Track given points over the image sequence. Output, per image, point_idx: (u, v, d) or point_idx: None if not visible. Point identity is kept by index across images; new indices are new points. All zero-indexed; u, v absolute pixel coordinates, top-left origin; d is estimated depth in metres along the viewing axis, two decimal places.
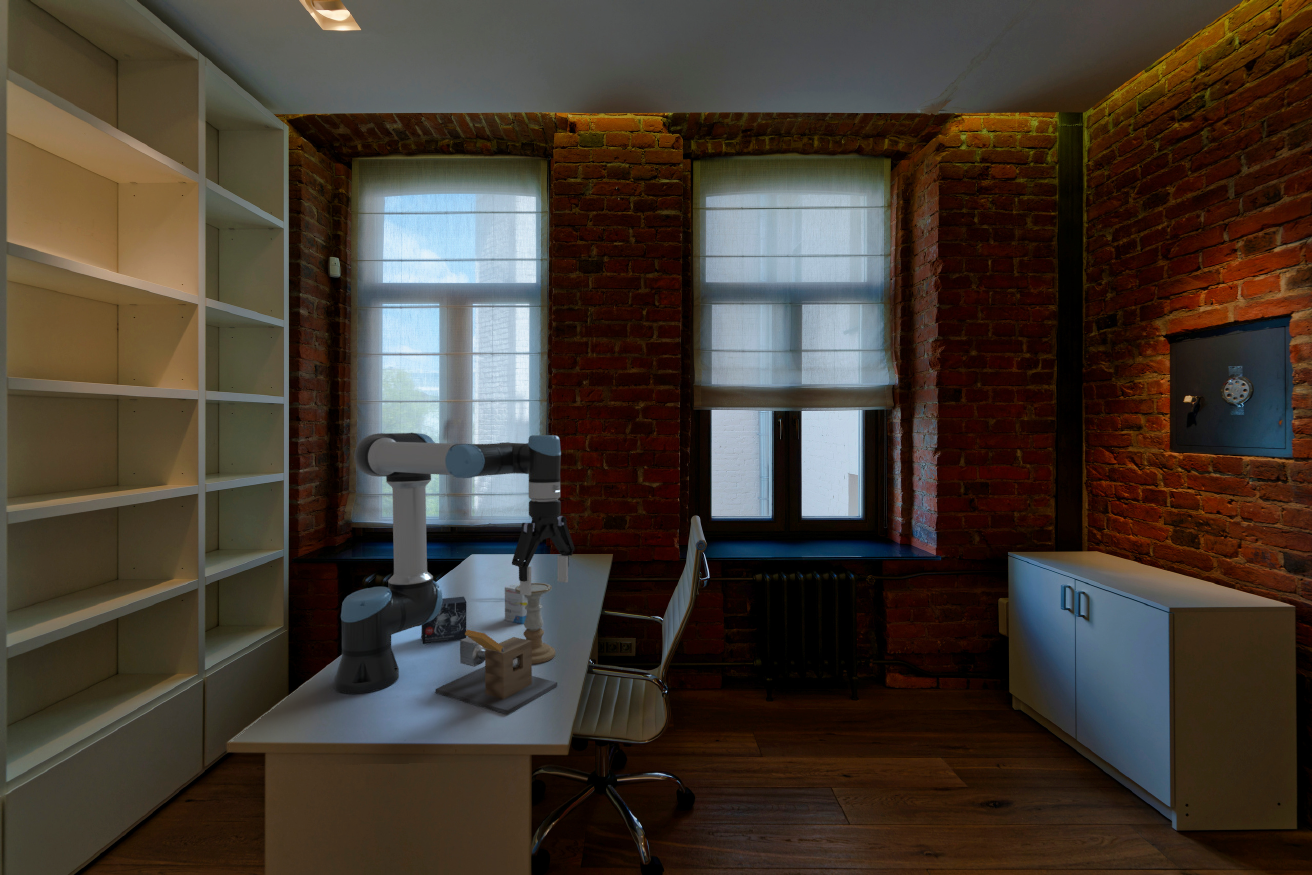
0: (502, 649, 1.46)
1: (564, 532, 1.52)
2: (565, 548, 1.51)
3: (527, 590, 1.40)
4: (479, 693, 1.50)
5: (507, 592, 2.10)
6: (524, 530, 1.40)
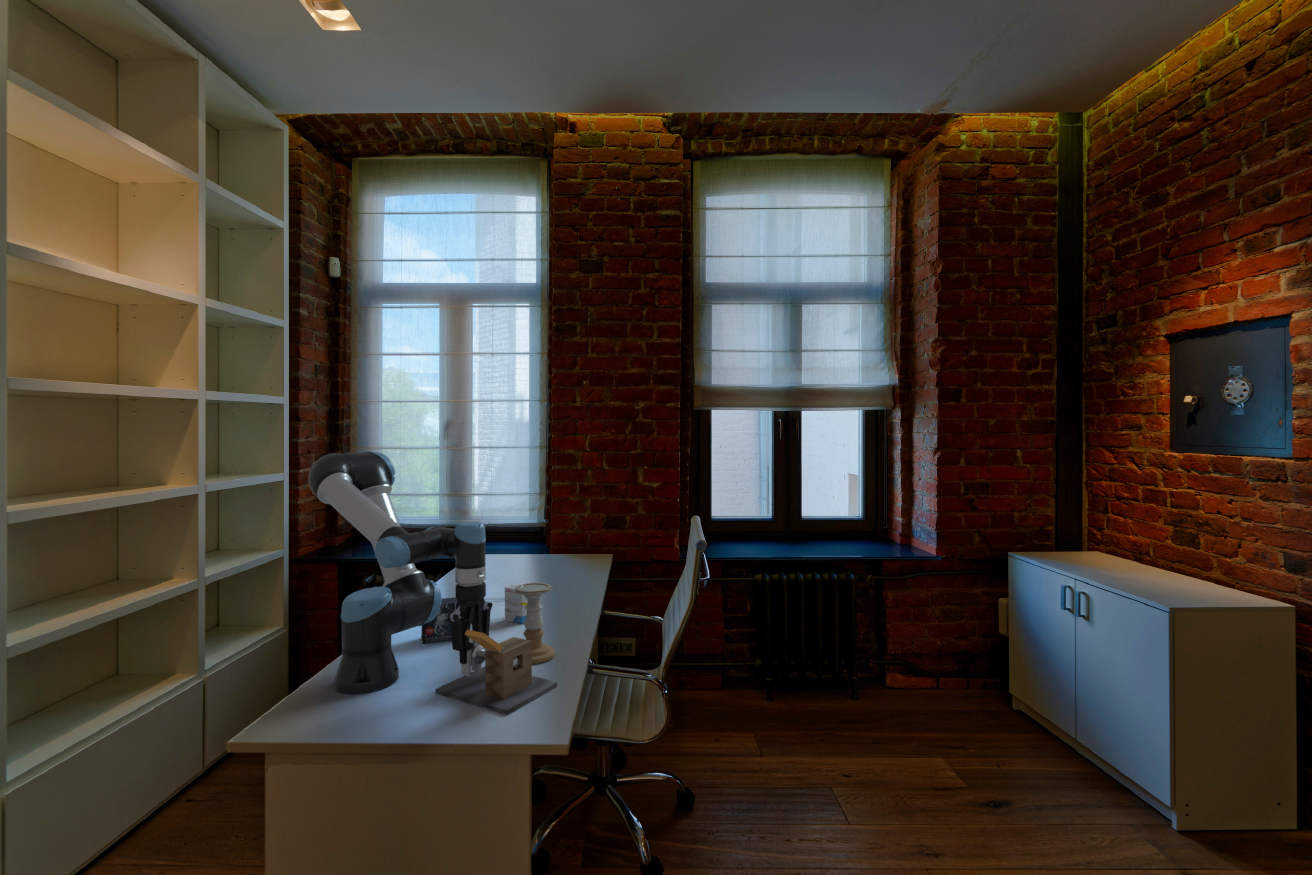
0: (502, 649, 1.46)
1: (485, 617, 1.62)
2: None
3: (467, 671, 1.56)
4: (479, 693, 1.50)
5: (507, 592, 2.10)
6: (452, 620, 1.53)
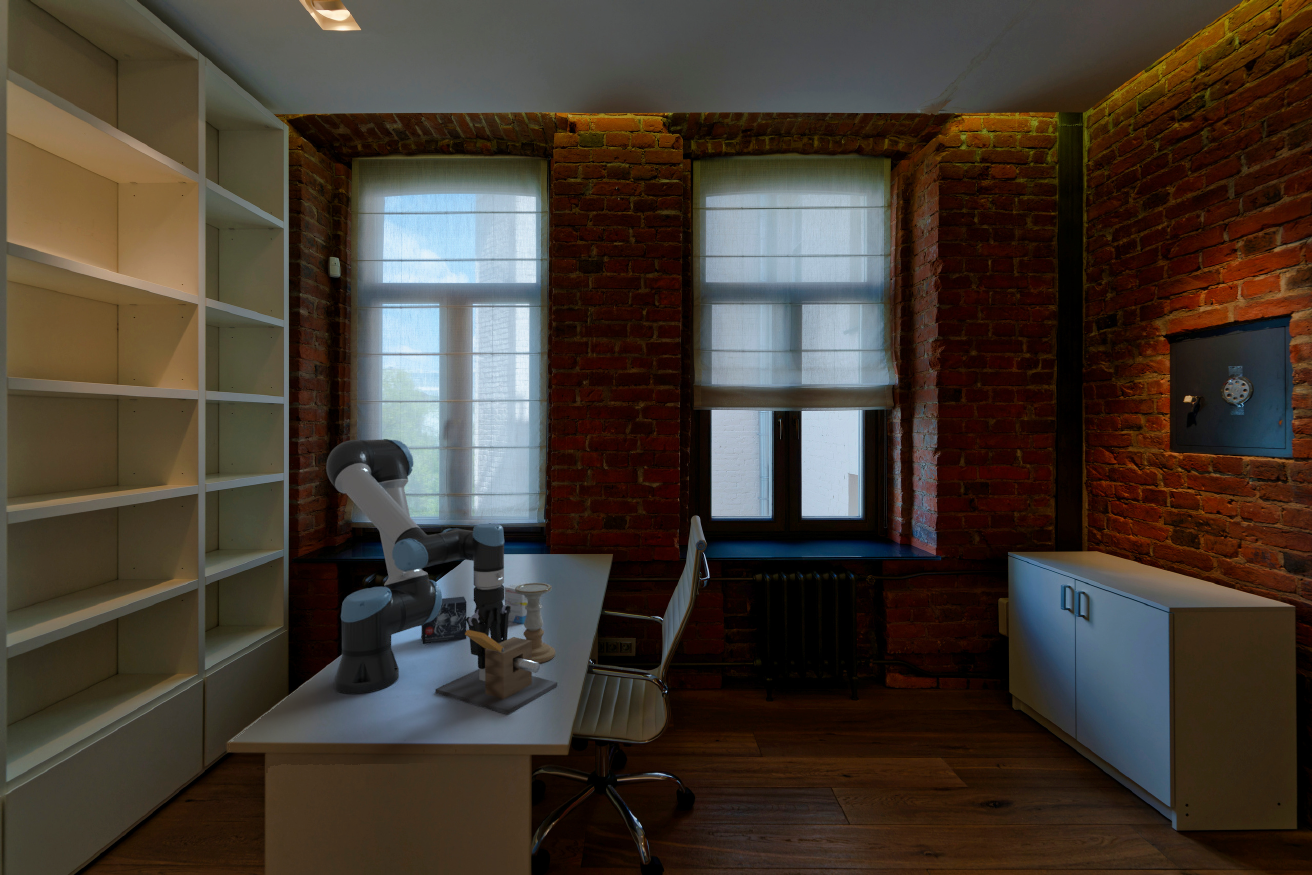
0: (502, 649, 1.46)
1: (503, 621, 1.59)
2: (499, 640, 1.57)
3: None
4: (479, 693, 1.50)
5: (507, 592, 2.10)
6: (470, 624, 1.50)
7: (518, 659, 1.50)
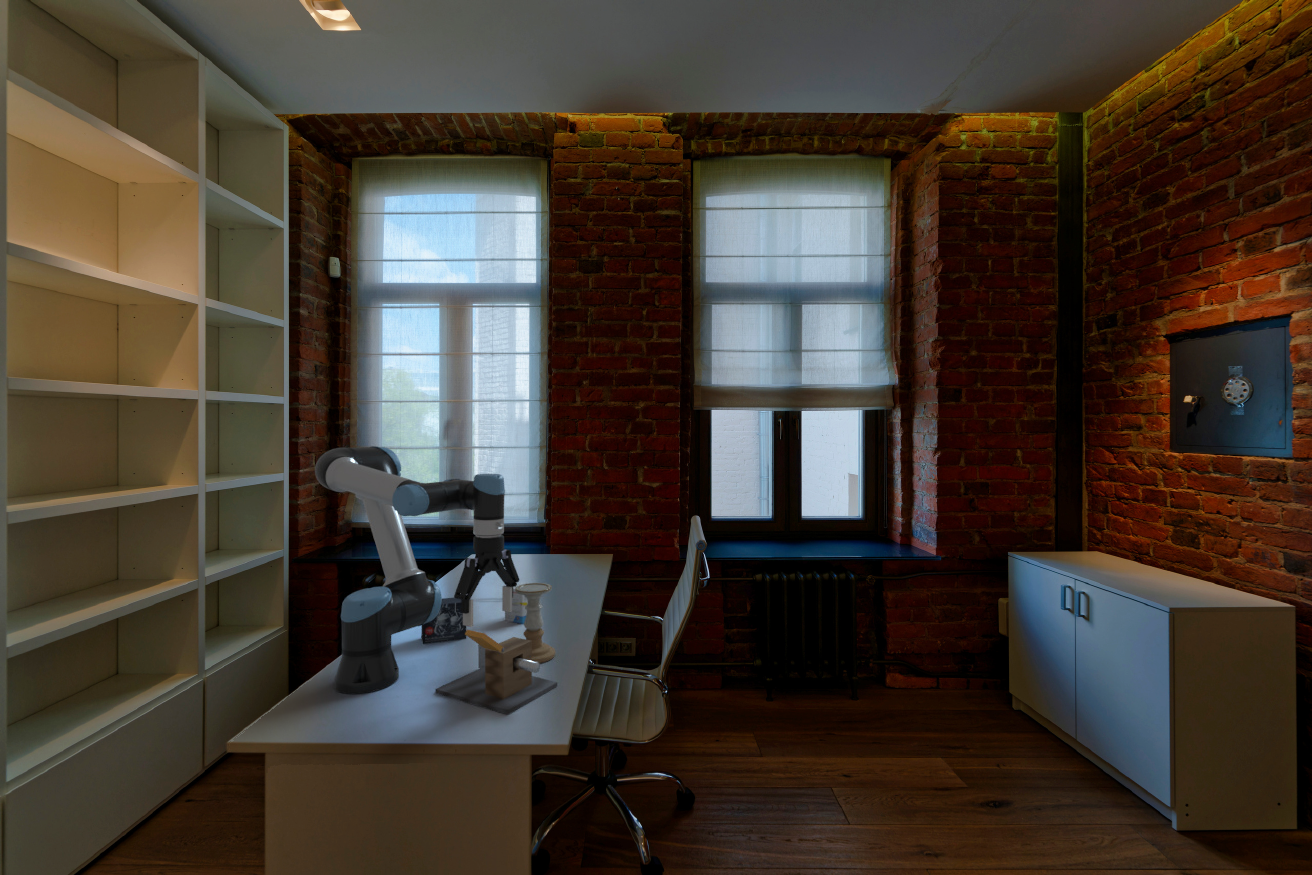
0: (502, 649, 1.46)
1: (509, 564, 1.61)
2: (509, 580, 1.60)
3: (469, 621, 1.49)
4: (479, 693, 1.50)
5: None
6: (467, 565, 1.49)
7: (518, 659, 1.50)
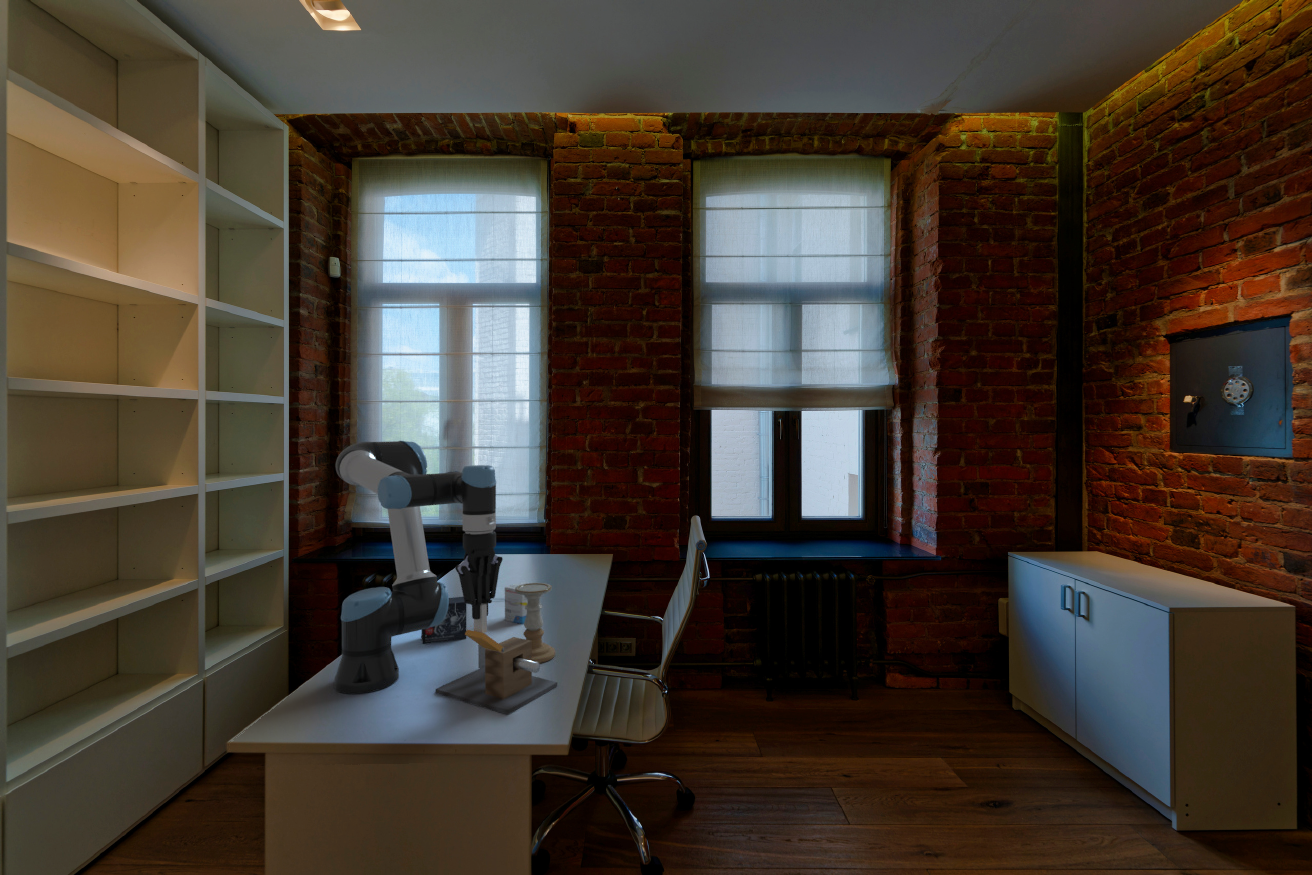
0: (502, 649, 1.46)
1: (493, 572, 1.46)
2: (487, 592, 1.44)
3: (480, 628, 1.43)
4: (479, 693, 1.50)
5: (507, 592, 2.10)
6: (460, 573, 1.39)
7: (518, 659, 1.50)
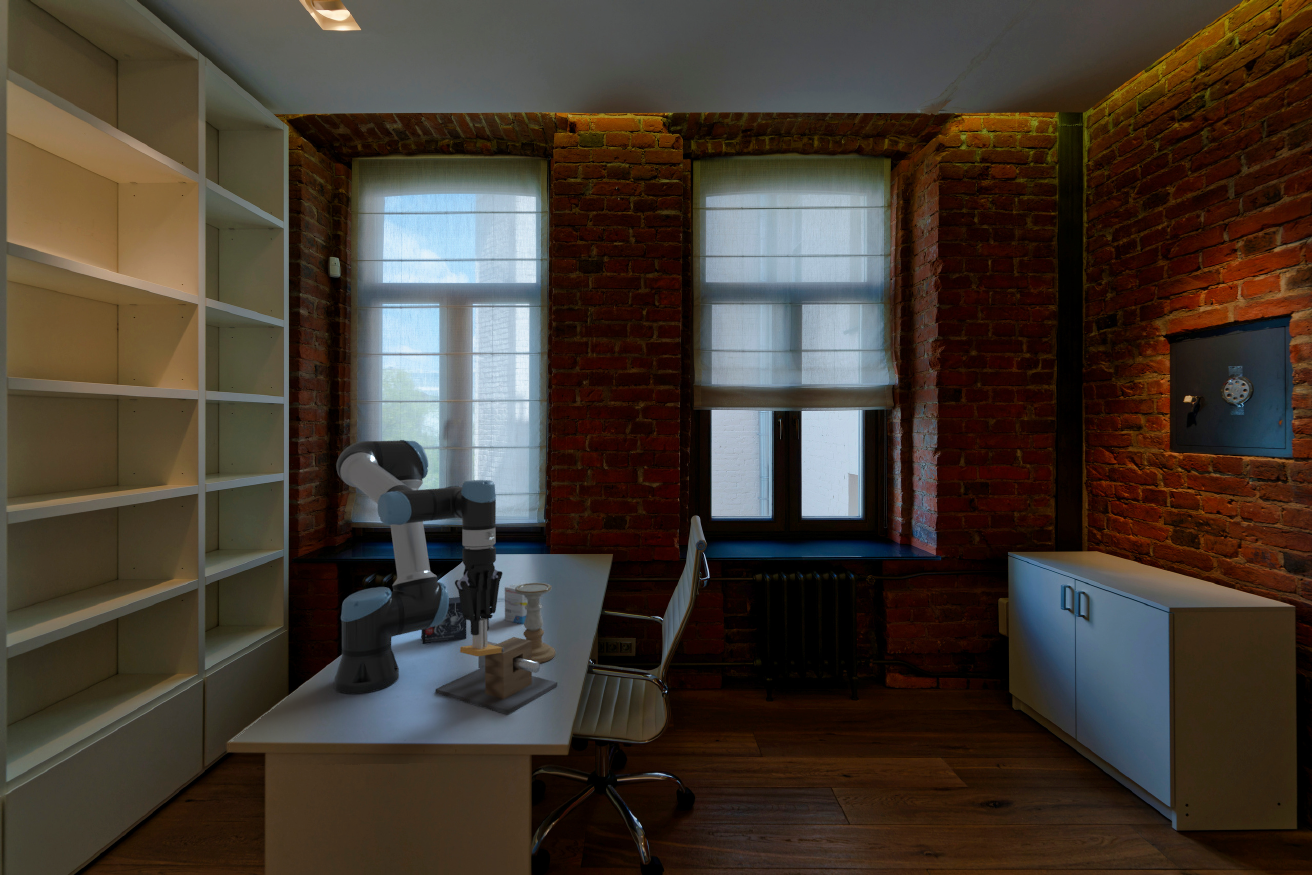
0: (502, 649, 1.46)
1: (494, 587, 1.46)
2: (487, 607, 1.44)
3: (479, 644, 1.42)
4: (479, 693, 1.50)
5: (507, 592, 2.10)
6: (460, 588, 1.38)
7: (518, 659, 1.50)
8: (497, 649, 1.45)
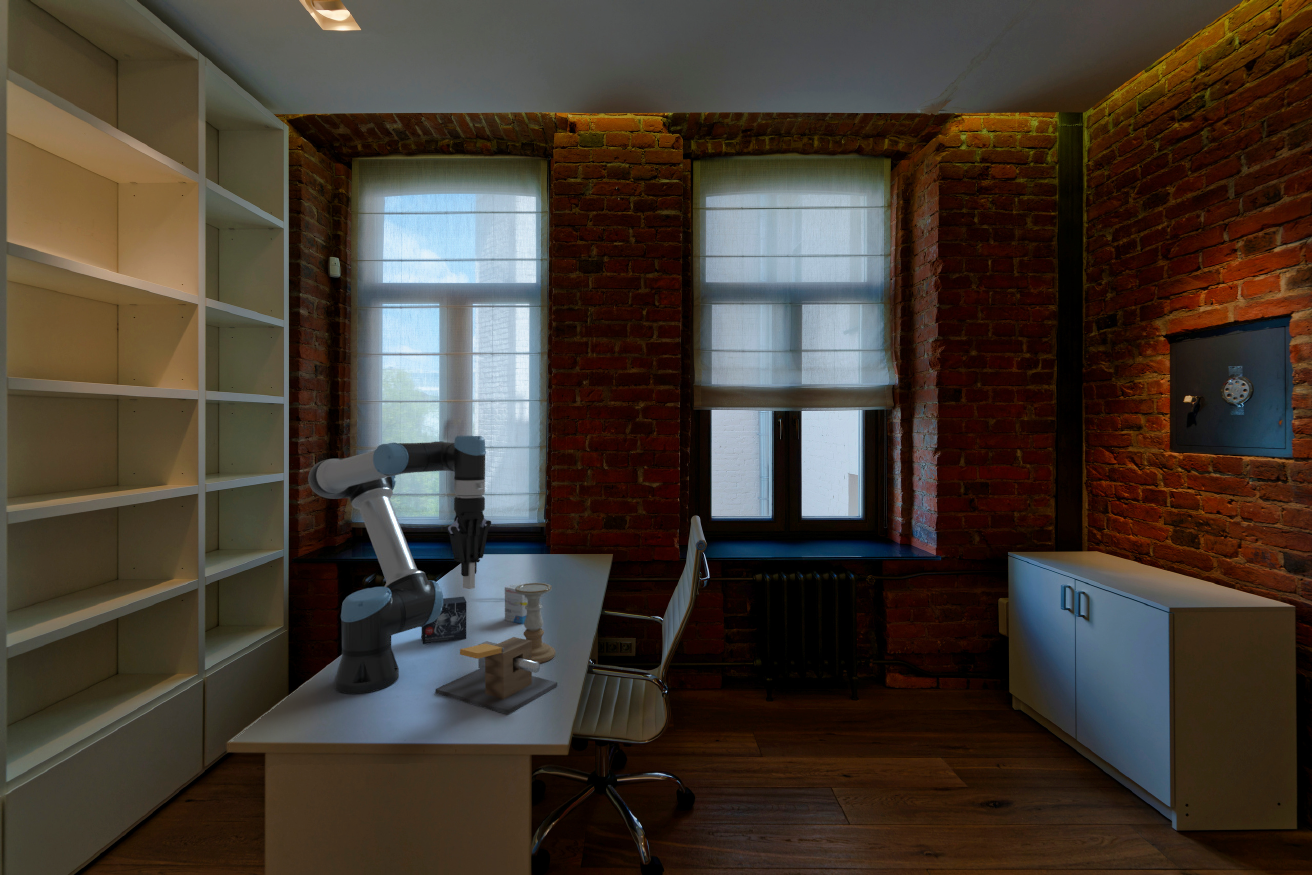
0: (502, 649, 1.46)
1: (482, 534, 1.59)
2: (475, 552, 1.57)
3: (468, 584, 1.56)
4: (479, 693, 1.50)
5: (507, 592, 2.10)
6: (451, 533, 1.52)
7: (518, 659, 1.50)
8: (497, 650, 1.45)
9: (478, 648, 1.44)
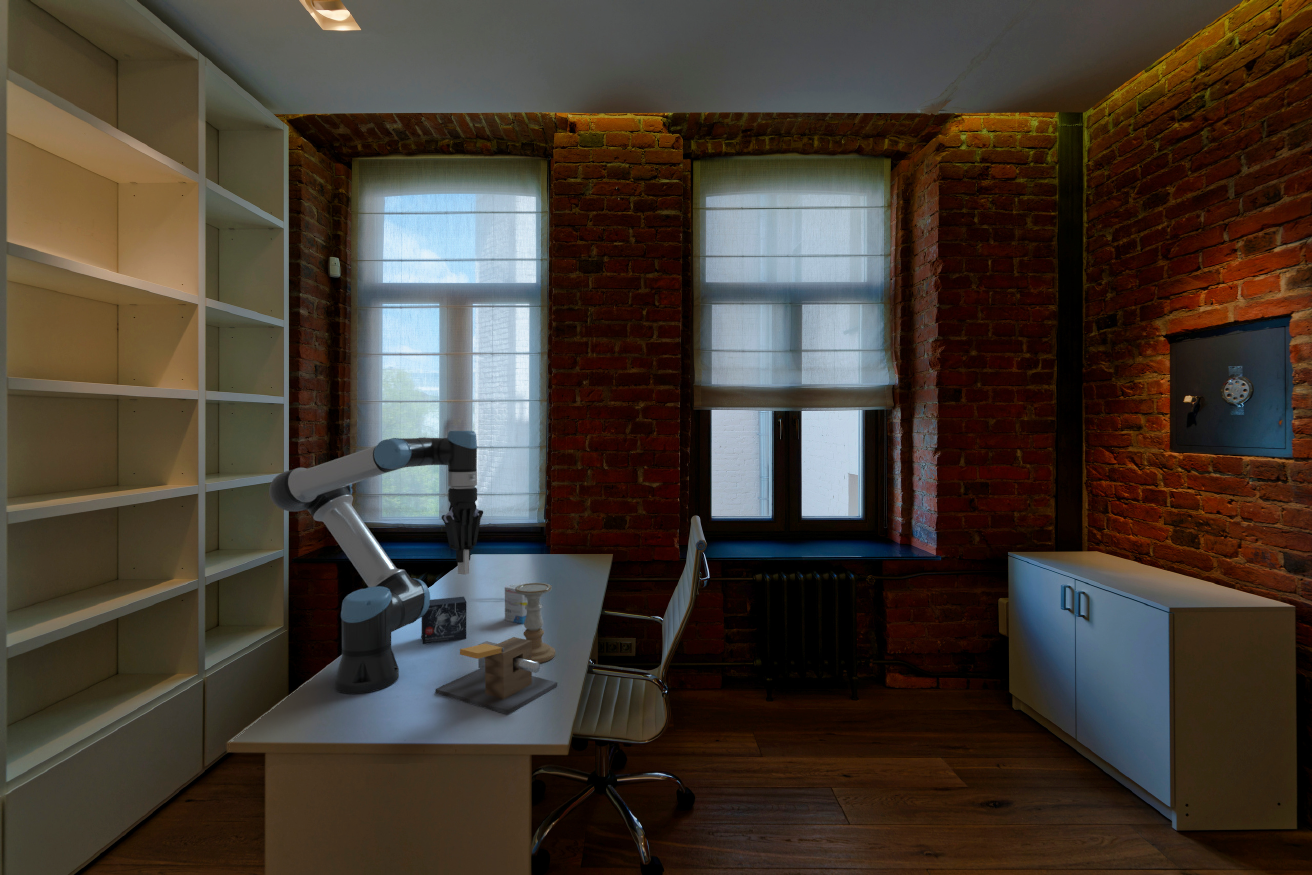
0: (502, 649, 1.46)
1: (475, 523, 1.69)
2: (469, 540, 1.67)
3: (463, 570, 1.66)
4: (479, 693, 1.50)
5: (507, 592, 2.10)
6: (446, 521, 1.62)
7: (518, 659, 1.50)
8: (497, 650, 1.45)
9: (478, 648, 1.44)
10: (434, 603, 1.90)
